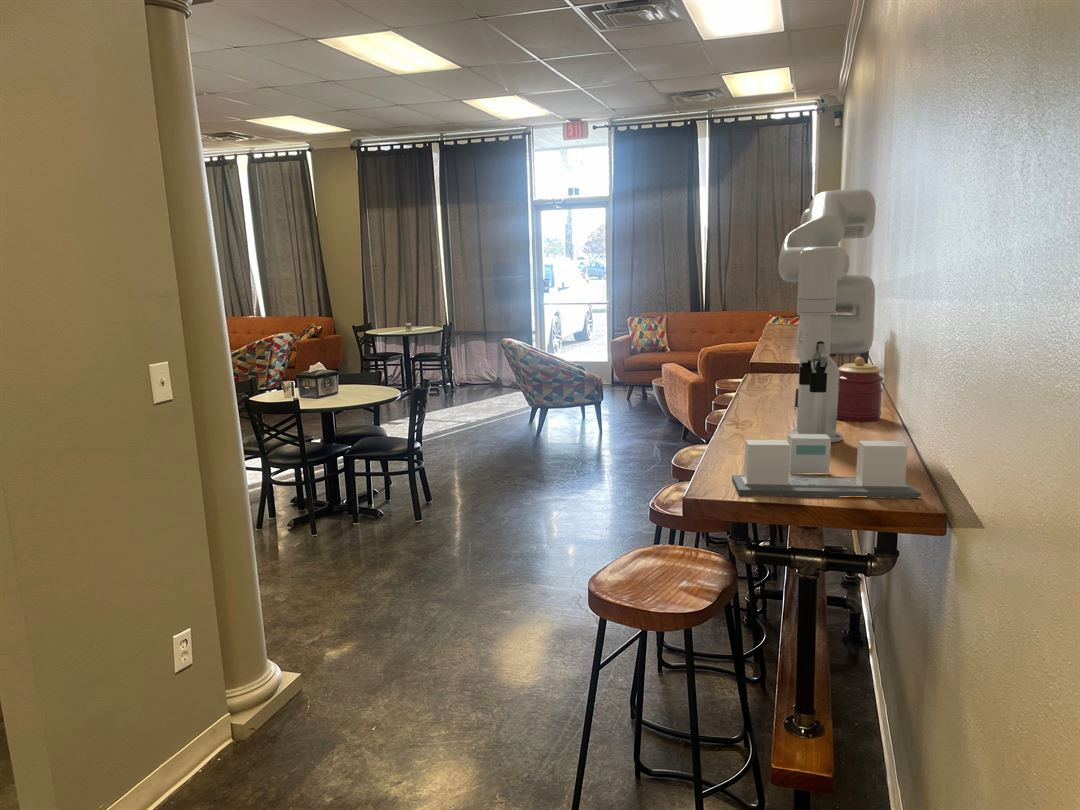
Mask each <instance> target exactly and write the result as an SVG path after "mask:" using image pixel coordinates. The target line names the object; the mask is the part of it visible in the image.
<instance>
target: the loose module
mask: <svg viewBox="0 0 1080 810" xmlns="http://www.w3.org/2000/svg"><path fill="white" fill-rule="evenodd" d="M787 442H788V443H789V444H790V458H789V475H802V474H801V473H829V474H830V464H831V462H830V461H831V446H832V443H831V438H830V437H829V436H828V435H826V434H790V433H788V434H787ZM797 473H798V474H797ZM799 473H800V474H799Z"/></svg>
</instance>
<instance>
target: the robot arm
mask: <svg viewBox="0 0 1080 810" xmlns="http://www.w3.org/2000/svg"><path fill="white" fill-rule="evenodd" d="M876 208H877V206H876V201H875V197H874V195H873V194H872V192H871V191H870V190H868V189H864V188H861V189H860V188H854V189H853V188H852V189H834V190H825V191H822V192H820V193H818V194H816V195H815V196H814V197H812V199H811V201H810V204H809V207H808V208H807V209H806V210H804V211H803V212H802V215H801V217H800V223H799V225H800V226H798V227H797V228H795V229H793V230H792V231H791V232H789V233H788V234H787V235H786V237H785V238H784V240H783V241H782V245H781V249H780V253H779V258H778V266H777V267H778V273H779V276H780V278H781V279H782V280H783V281H785V282H787V283H797V286H798V287H797V302H796V303H797V307H796V315H799V318H798V325H797V335H796V347H795V357H796V359H798V360H799V368H798V369H799V370H798V372H799V373H798V374H799V375H798V388H799V390H798V409H797V414H796V428H795V429H792V430H791V431H790V432H789V434H826V435H828V436H829V437H830V438H831V442H833V443H837V442H841V441H842V440H843V434H842V433H841V432H839V431H837V420H838V419H837V407H838V390H839V369H838V368H839V367H838V365H837V363H836V361H834V360H833V358H832V357H831V356H830V355H831V354H854V355H855V354H864V353H867V352H868V351H870V349H871V348H872V346H873V341H874V333H875V332H874V331H875V329H874V327H875V307H876V304H875V302H876V290H875V289H876V288H875V284H874V281H873V280H872V278H871V277H869V276H868V275H864V274H863V275H862V274H850V275H849V274H848V273H849V270H850V256H849V254H848V253H847V251H846V249H844V248H843V247H842V246H837V245H838V244H839V243H840V242H841V241H842V240H849V239H865V238H868V237H869V236H870V235H871V234H872V233H873V230H874V228H875V224H876V223H875V222H876V210H877V209H876Z"/></svg>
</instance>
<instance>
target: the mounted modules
mask: <svg viewBox="0 0 1080 810" xmlns="http://www.w3.org/2000/svg"><path fill="white" fill-rule="evenodd" d="M744 440H745V441H744V461H745V466H744V465H743V473H744V478H745V480H746V482H747V483H759V484H788V479H789V476H790V473H789V458H790V444H789V443H788V440H786V439H744ZM908 449H909V445H906V444H905V443H904V442H902V441H900V440H899V441H898V440H897V441H895V440H858V441H857V456H856V472H855V473H856V474H855V477H856V480H857V481H858V482H859V483H860V484H861V485H880V486H905V480H906V475H907V463H908Z"/></svg>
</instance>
